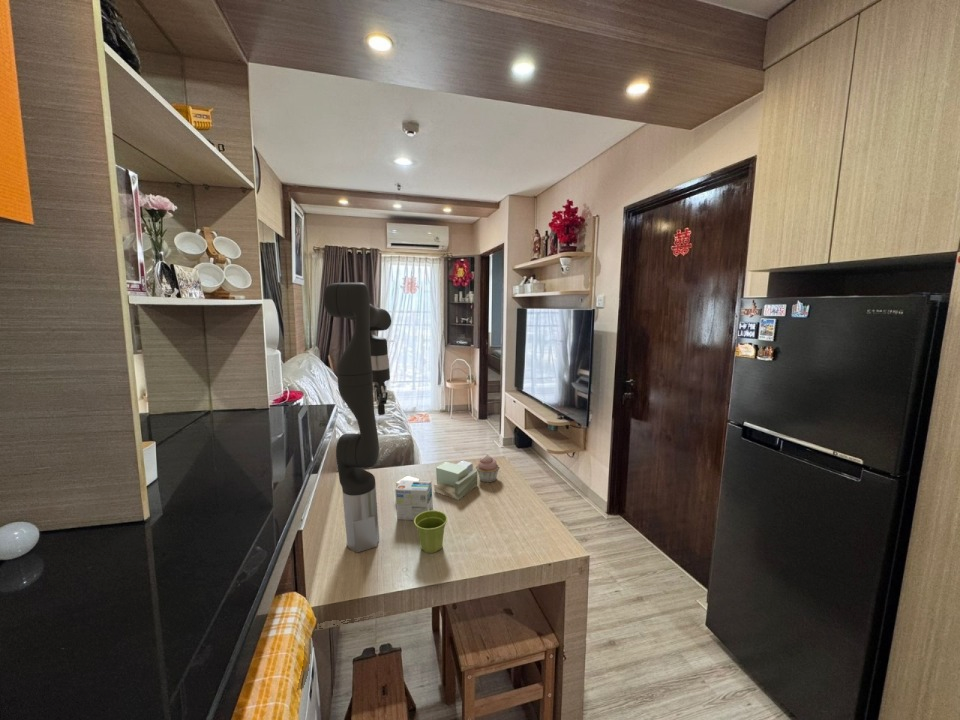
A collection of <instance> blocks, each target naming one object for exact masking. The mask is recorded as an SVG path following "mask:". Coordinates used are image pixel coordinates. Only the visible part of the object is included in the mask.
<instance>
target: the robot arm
mask: <svg viewBox="0 0 960 720" xmlns="http://www.w3.org/2000/svg"><path fill="white" fill-rule="evenodd" d="M322 296H323V306H324V309H325V311H326V313H327V314H328V315H329V316H331V317H333V318H334V317H335V318H340V319H342V318H345V319H349V320H352V321H354V322H355V323H354V330H353V334H352V337H351V339H350V341H349V343H348V345H347V347H346V348H345V350H344V351H343V354H342V355H341V357H340V358H339V360H338V363H337V367H336V373H337V375H336V377H337V388H338V393H339V395H340V396H341V399H342V401H344V403H345V404H346V406H347V407H348V409H349V410H350V411H351V413H352V414H353V416H354V417H355V420H356V421H357V424H358V429H359V433H344V434H342V435H340V437H339V438H338V440H337V443H336V447H335V448H336V449H335V457H336V459H335V460H336V467H337V471H338V472H337V473H338V479H339V484H340V486H341V489H342V501H343V511H344V512H343V514H344V524H345V534H346V535H345V536H346V545H347V547H348V548H349V549H350V550H351V551H354V552H355V554H357V553H360V552H363V551H367V550H370V549H372V548H376V547H378V543H379V542H380V527H379V513H378V502H377V501H378V500H377V488H376V486H377V485H376V484H377V483H376V477H375V475H374V474H373V473H372V472H370V471H368V470H366V469H367V468H373V467H374V466H376V465H377V462H378V461H379V454H380V446H379V445H380V444H379V436H378V435H379V434H378V429H377V423H376V422H377V421H376V415H375V414H376V413H375V406H374V405H375V403H374V401H375V402H376V404H377V405H376V406H377V414H378V415H379V416H384V415H385V414H386V408H385V405H387V400H388V394H389V393H388V392H387V385H386V384H385V382H387V381H390V378H391V375H390V374H391V373H390V372H391V371H390V359H389V355H388V353H389V352H388V340H387V339H386V337H383V336H377V335H375V334H374V333H373V332H375V331H379V332H380V331H387V330H388V329H389V328H390V327H391V325H392V317H391V314H390V313H389V312H388V311H387V310H386V309H384V308H380V307H375V306H374V305H373V304H371V300H370V299H371V297H370V291H369V288H368V285H367V284H366V283H364V282H333V283H332V282H331V283H330V284H328V285H327V286H326V287H325V288H324V291H323V295H322ZM364 468H365V469H364Z"/></svg>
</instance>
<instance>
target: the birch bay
mask: <svg viewBox="0 0 960 720" xmlns="http://www.w3.org/2000/svg"><path fill="white" fill-rule="evenodd" d="M477 485H478V471H477V469H473V471H471V472H470V473H469V474H467V475H466V476H464V477H463V478H462V479H460V480H459V481H457V482H456V483H455V488H452V487H449V486H446V485H443V484H439V483H437V482H435V483H434V484H433V487H434V488H433V490H434V491H435V492H434V491H433V492H434V493H436V492H438V493H437V494H439V493H441V494H440V495H442V494H444V495H443V496H445V495H447V496H446V497H448V496H450V497H449V498H451V497H452V498H451V499H454V498H455V499H454V500H457V501H460V500H462V498H463V496H464V497H465V496H466V495H467V494H469V493H470V492H471V491H473V490H474V489H475V488H476V487H478V486H477ZM474 487H475V488H474ZM473 488H474V489H473ZM472 489H473V490H472ZM469 491H470V492H469ZM468 492H469V493H468ZM459 499H460V500H459Z"/></svg>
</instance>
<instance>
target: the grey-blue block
mask: <svg viewBox="0 0 960 720" xmlns="http://www.w3.org/2000/svg"><path fill="white" fill-rule="evenodd" d="M456 464H457V465H460V466H464V467H468V474H469V473H470V472H471V471H473V470H474V469H473V467H474V466H473V464H474V463H473V462H470V461H466V460H461V461H459V462H457V463H456Z"/></svg>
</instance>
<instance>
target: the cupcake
mask: <svg viewBox="0 0 960 720" xmlns="http://www.w3.org/2000/svg"><path fill="white" fill-rule="evenodd" d="M475 468H476V469H475V470H476V471H477V475H478V476H479V477H478V478H479V480H480V481H481V482H483V483H493V482H495V481H496V479H497V477H498V474H499V473H498V472H499V470H500V468H501V467H500V466H499V464H498V463H497V460H496V459H495V458H494V457H493V456H490V455H489V454H486V455H485V456H483V457H482V458H480V460H479V461H478V463H477V465H476V466H475Z"/></svg>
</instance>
